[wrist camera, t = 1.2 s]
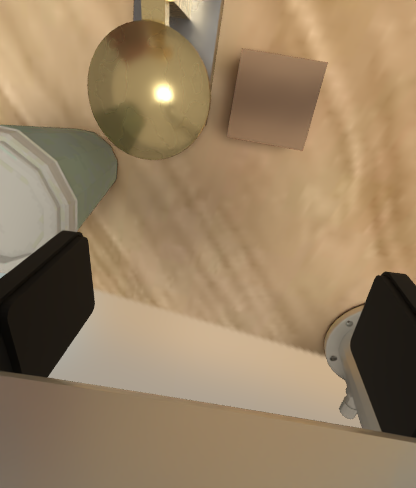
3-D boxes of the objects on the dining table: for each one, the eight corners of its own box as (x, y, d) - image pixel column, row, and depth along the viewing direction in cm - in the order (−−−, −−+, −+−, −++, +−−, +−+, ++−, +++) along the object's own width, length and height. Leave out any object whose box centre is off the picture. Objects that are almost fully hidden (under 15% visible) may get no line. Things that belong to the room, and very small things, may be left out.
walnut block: (294, 140, 30) (302, 150, 24) (232, 129, 30) (226, 136, 25) (313, 69, 27) (327, 62, 22) (244, 57, 27) (241, 48, 22)
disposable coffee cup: (94, 87, 30) (-39, 80, 17) (160, 181, 33) (94, 241, 20) (24, 148, 34) (-130, 184, 20) (90, 228, 37) (-6, 305, 23)
